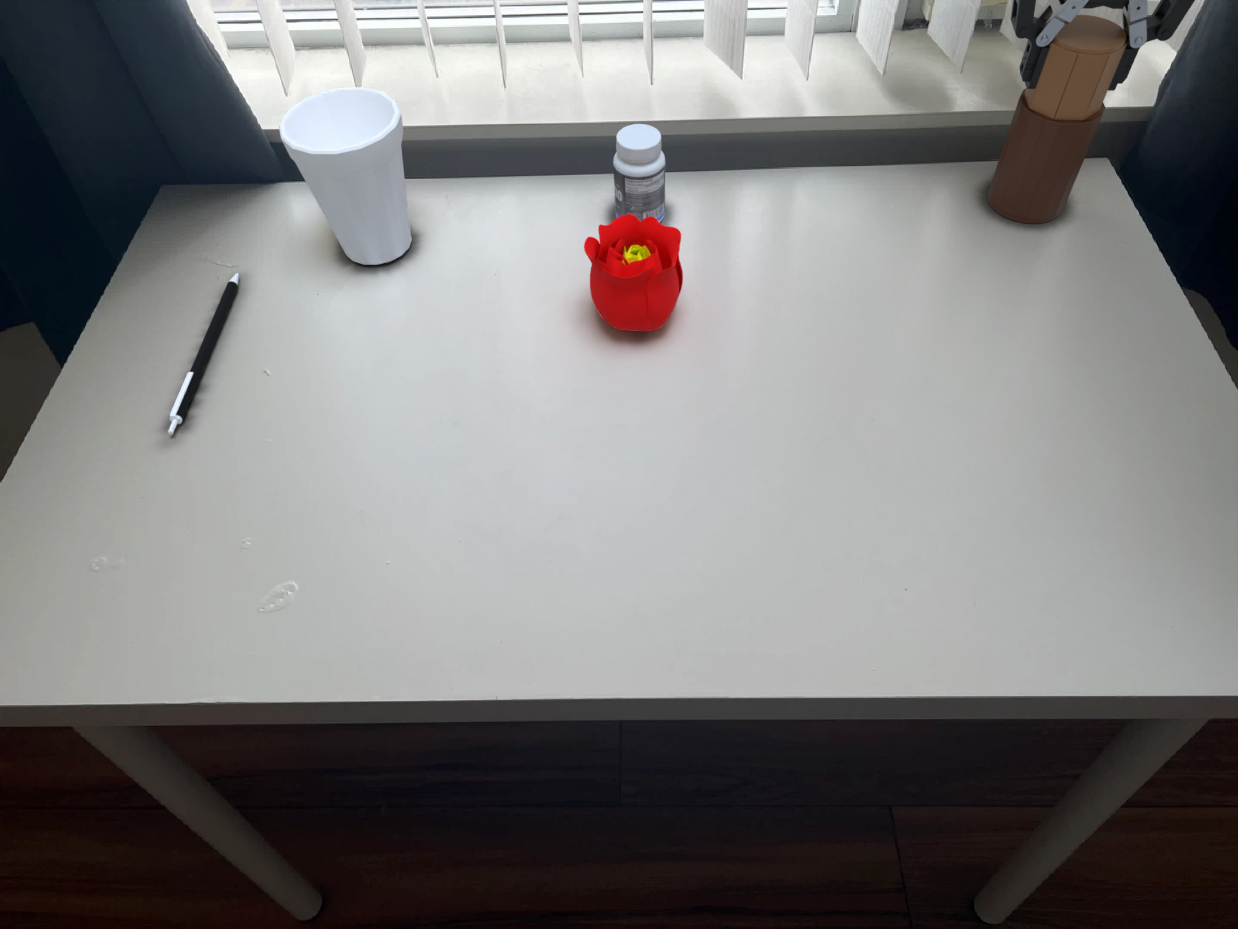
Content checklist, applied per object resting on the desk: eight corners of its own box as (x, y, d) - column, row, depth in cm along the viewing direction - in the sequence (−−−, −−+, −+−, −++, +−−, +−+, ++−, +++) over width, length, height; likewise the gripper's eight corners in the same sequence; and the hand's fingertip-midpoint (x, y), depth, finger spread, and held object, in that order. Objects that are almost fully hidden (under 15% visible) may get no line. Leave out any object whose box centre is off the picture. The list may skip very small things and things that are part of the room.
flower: (576, 306, 78) (568, 230, 71) (652, 274, 80) (652, 198, 73) (621, 361, 73) (617, 285, 67) (700, 326, 75) (704, 250, 69)
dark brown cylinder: (1055, 181, 86) (1112, 36, 75) (1070, 224, 82) (1133, 78, 71) (982, 179, 87) (1028, 35, 76) (993, 222, 82) (1044, 76, 72)
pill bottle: (616, 200, 87) (612, 120, 80) (665, 200, 87) (665, 120, 80) (614, 231, 84) (610, 151, 77) (665, 230, 84) (665, 150, 77)
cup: (346, 296, 80) (299, 166, 69) (311, 236, 85) (262, 108, 75) (449, 256, 82) (419, 126, 72) (409, 201, 88) (375, 73, 78)
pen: (167, 436, 70) (160, 427, 69) (235, 276, 82) (230, 266, 81) (178, 436, 70) (172, 427, 69) (244, 276, 82) (240, 266, 81)
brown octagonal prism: (1089, 84, 78) (1116, 14, 73) (1104, 121, 74) (1134, 50, 70) (1020, 83, 78) (1043, 13, 74) (1032, 119, 75) (1057, 48, 70)
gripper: (1058, -126, 60) (986, 107, 74) (1284, -127, 59) (1170, 111, 72) (1037, -166, 65) (973, 60, 78) (1247, -167, 64) (1146, 63, 77)
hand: (1068, 84), depth 75 cm, fingers closed on brown octagonal prism, 5 cm apart
